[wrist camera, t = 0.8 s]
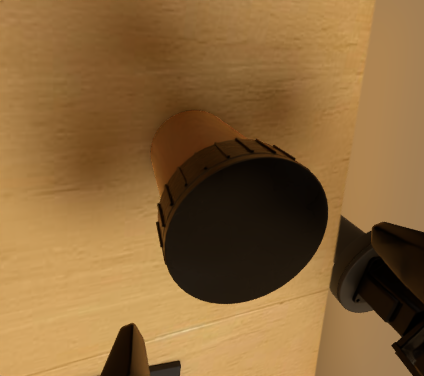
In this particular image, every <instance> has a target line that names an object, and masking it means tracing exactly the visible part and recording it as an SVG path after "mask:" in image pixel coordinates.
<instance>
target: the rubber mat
mask: <svg viewBox="0 0 424 376" xmlns="http://www.w3.org/2000/svg"><path fill="white" fill-rule="evenodd" d="M180 368H181V364H180V361H178V362H172V363H167V364H162V365H156V366H151V367H149V371H150V376H180Z"/></svg>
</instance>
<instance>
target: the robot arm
mask: <svg viewBox="0 0 424 376" xmlns="http://www.w3.org/2000/svg"><path fill="white" fill-rule="evenodd" d="M371 244H372V247H373V248H374V250H375V251H376V252H377V253H378V254H379V256H376V257H372V258H371V259H370V260H369V262H368V265H367V267H366V269H365V271H364V273H363V276H362V278H361V280H360V282H359V284H358V287H357V289H356V291H355V293H354V295H353V298H352V301H353V302H354V303H355V304H357V303H363V302H367V304H368V305H369V306H370V307H371V308H372V309H373V310H374V311H375V312H376V313H377V314H378V315H379V316H380V317H381V318H382V319H383V320H384V321H385V322H387V323H389V324H390V325H391V326H392V327H393V328H394V329H395V330H396V331H397V332H398V333H399V334H400V336H401V337H402V338H401V339H400V340H398V341H397V342H395V343H393V344H392V347H393V348H394V350H395V351H396V352H395V354H396V355H397V356H398V357H399V358H400V359H401V361H402V362H403V363H404V365H405V366H406V367H407V369H408V370H409V371H410V373H411V374H412V375H413V376H424V232H421V231H417V230H413V229H409V228H406V227H402V226H398V225H394V224H391V223H387V222H381V223H379V224H376V225H374V226H373V227H372V236H371ZM100 376H150V371H149V365H148V359H147V353H146V347H145V342H144V339H143V337H142V335H141V333H140V332H139V330H138V328H137V327H136V325H135V324H134V323H131V324H128V325H126V326H123V327H122V328H121V329H120V331H119V333H118V335H117V338H116V340H115V342H114V345H113V347H112V349H111V352H110V354H109V356H108V359H107V361H106V363H105V366H104V368H103V370H102V373H101V375H100Z"/></svg>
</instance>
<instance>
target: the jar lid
mask: <svg viewBox="0 0 424 376" xmlns="http://www.w3.org/2000/svg"><path fill="white" fill-rule="evenodd" d="M295 159H296V158H294V157H293V156H291V155H289V154H288V153H286V152H285V151H283V150H281V149H280V148H278V147H277V146H275V145H273V146H271V145H269V144H267V143H264V142H262V141H260V140H259V139H256V140H251V139H239V138H238V137H237V138H235V139H233V140H226V141H222V142H219V143H217V142H214V144H213V145H210V146H208V147H206V148H204V149H202V150H200V151H198V152H197V153H196V152H194V155H192V156H191V157H190V158H188V159H187V160H186V161H185V162H184V163H183V164H182V165H181V166H180V167H179V166H178V167H177V168H176V169H177V170H176V171H175V172H174V174H173V175H172V176H171V178H170V179H169V181H168V183H167V184H165V185H164V191H163V193H162V195H161V199H160V202H159V203H157V207H158V222H156V225H157V231H158V236H159V241H160V247H162V251H163V256H164V261H165V264H166V265H167V268H168V271H169V273H170V275H171V276H172V278H173V280H174V281H175V282H176V283H177V285H178V286H179V287H180V288H181V289H183V290H184V291H185V292H186V293H188V294H189V295H191V296H193V297H195V298H197V299H200V300H202V301H206V302H210V303H217V304H234V303H241V302H247V301H250V300H254V299H257V298H260V297H262V296H265V295H267V294H269V293H271V292H273V291H275V290H277V289H278V288H280V287H282V286H283V285H284V284H286V283H287V282H289V281H290V280H291V279H292V278H294V277H295V276H296V275H297V274H298V273H299V272H300V271H301V270H302V269H303V268H304V267H305V266H306V265H307V263H308V262H309V261H310V260H311V258H312V257H313V255H314V254H315V253H316V251H317V249H318V247H319V245H320V243H321V241H322V239H323V236H324V233H325V230H326V226H327V220H328V204H327V198H326V195H325V192H324V189H323V187H322V185H321V183H320V182H319V181H318V179H317V178H316V176H315V175H314V174H313V173H311V172H310V170H309V169H308V168H306V167H305V166H303V165H302V164H300V163H299V162H297V161H295Z"/></svg>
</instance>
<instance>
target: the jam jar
mask: <svg viewBox="0 0 424 376" xmlns="http://www.w3.org/2000/svg"><path fill="white" fill-rule="evenodd" d="M237 137H238V138H239V139H247V138H246V137H244V136H243V135H242V134H240V133H239V132H238V131H236V130H235V129H233V128H232V127H231V126H229V125H228V124H226V123H225V122H224V121H222V120H221V119H219V118H218V117H216V116H215V115H213V114H211V113H209V112H205V111H200V110H189V111H184V112H181V113H178V114H176V115H174V116H172V117H170V118H169V119H168V120H166V121H165V122H164V123H163V124H162V125H161V126H160V128H159V129H158V130H157V132H156V134H155V136H154V138H153V141H152V145H151V162H152V166H153V170H154V174H155V178H156V182H157V186H158V190H159V194H160V198H161V195H162V193H163V191H164V185H165V184H167V183H168V181H169V179H170V178H171V176H172V175H173V174H174V172H175V171H176V170H177V169H176V168H177V167H178V166H179V167H180V166H181V165H182V164H183V163H184V162H185V161H186V160H187V159H188V158H190V157H191V156H192V155H194V152H196V153H197V152H198V151H200V150H202V149H204V148H206V147H208V146H210V145H213V144H214V142H217V143H219V142H222V141H226V140H233V139H235V138H237Z"/></svg>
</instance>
